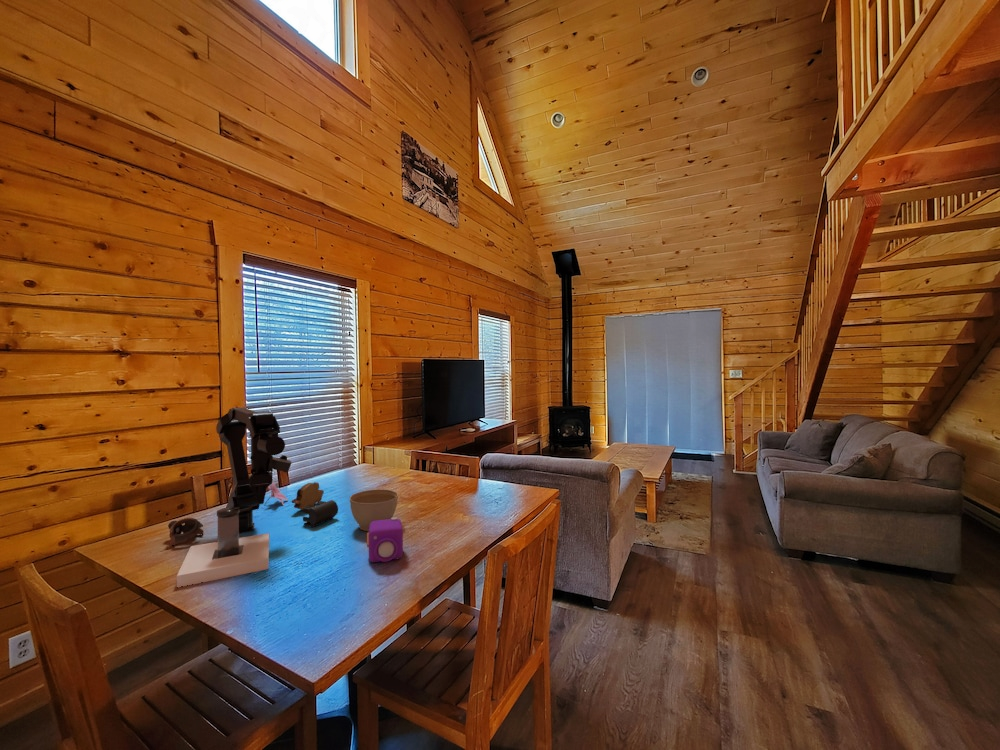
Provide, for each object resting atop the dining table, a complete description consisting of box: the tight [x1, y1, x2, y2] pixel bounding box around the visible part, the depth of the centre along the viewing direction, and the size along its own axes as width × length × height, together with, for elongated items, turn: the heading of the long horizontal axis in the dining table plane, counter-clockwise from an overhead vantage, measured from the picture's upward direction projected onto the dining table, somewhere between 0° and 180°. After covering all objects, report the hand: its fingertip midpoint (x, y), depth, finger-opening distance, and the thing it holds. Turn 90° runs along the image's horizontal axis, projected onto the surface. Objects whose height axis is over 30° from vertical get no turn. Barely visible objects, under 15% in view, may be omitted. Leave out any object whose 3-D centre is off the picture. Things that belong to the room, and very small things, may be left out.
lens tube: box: [216, 507, 240, 558], centre depth 116 cm, size 5×5×15 cm
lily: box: [263, 481, 289, 506], centre depth 168 cm, size 12×12×10 cm
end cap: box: [302, 499, 339, 528], centre depth 147 cm, size 10×7×7 cm
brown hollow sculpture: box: [168, 517, 205, 546], centre depth 132 cm, size 12×10×8 cm
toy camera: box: [366, 516, 404, 563], centre depth 119 cm, size 11×14×10 cm
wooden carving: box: [291, 481, 325, 511], centre depth 163 cm, size 16×5×10 cm, turn 172°
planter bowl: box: [349, 488, 399, 532], centre depth 143 cm, size 16×16×11 cm
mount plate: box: [176, 532, 270, 588], centre depth 116 cm, size 20×20×3 cm
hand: (261, 499), depth 132 cm, fingers open, 9 cm apart
